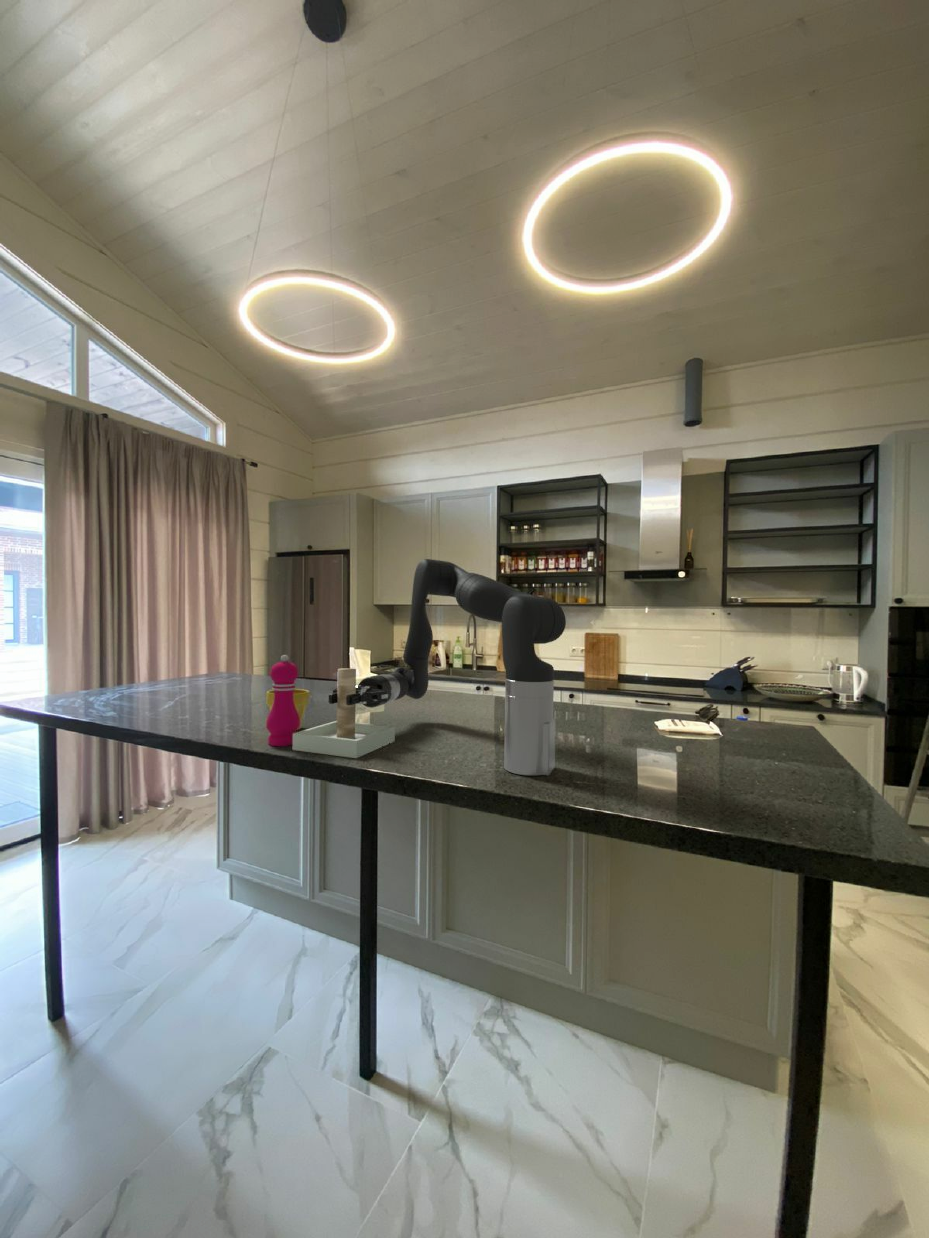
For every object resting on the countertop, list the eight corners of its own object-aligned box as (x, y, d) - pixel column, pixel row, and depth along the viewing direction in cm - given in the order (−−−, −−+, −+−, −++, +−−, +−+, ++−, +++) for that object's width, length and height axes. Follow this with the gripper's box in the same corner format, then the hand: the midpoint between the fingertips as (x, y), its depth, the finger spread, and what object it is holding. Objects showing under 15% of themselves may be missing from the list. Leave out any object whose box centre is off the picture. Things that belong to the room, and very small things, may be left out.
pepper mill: (304, 739, 116) (306, 654, 116) (291, 747, 109) (293, 656, 109) (275, 738, 116) (277, 653, 117) (259, 746, 109) (261, 655, 109)
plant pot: (312, 725, 132) (313, 688, 132) (302, 733, 122) (303, 693, 122) (273, 725, 132) (273, 688, 132) (259, 733, 121) (260, 693, 122)
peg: (358, 739, 113) (359, 668, 113) (348, 743, 109) (349, 670, 109) (343, 737, 114) (344, 668, 114) (332, 741, 110) (334, 669, 110)
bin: (394, 741, 116) (394, 726, 116) (356, 758, 101) (356, 740, 101) (336, 734, 122) (337, 720, 122) (292, 749, 107) (292, 733, 107)
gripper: (355, 673, 127) (312, 680, 111) (404, 676, 122) (367, 684, 106) (354, 702, 127) (311, 714, 111) (404, 707, 122) (366, 719, 106)
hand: (339, 699), depth 109 cm, fingers closed on peg, 4 cm apart
